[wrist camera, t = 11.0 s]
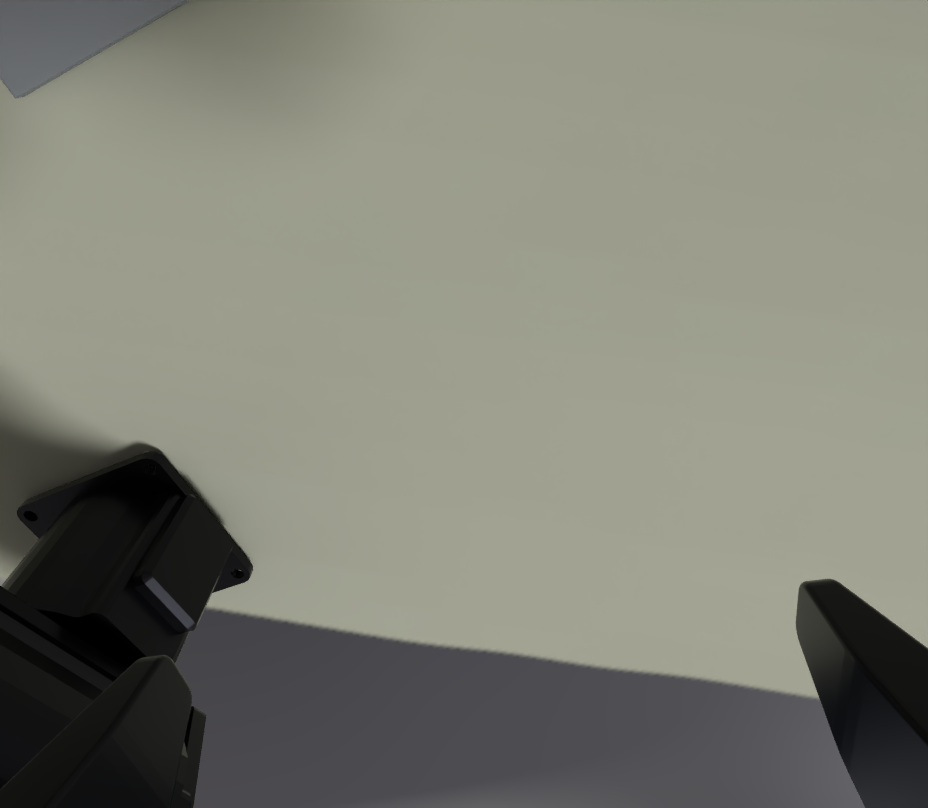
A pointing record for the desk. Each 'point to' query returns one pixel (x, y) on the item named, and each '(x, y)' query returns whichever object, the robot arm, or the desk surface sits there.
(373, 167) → the desk surface
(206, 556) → the robot arm
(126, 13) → the mat
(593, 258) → the desk surface
